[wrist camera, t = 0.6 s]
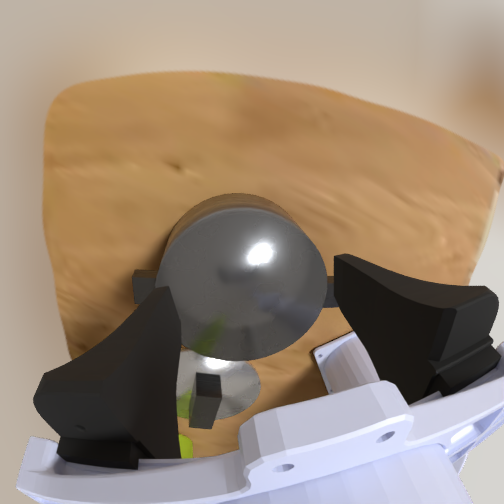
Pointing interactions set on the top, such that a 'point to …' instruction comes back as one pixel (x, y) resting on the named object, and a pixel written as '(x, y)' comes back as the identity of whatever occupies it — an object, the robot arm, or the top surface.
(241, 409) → the cooker lid
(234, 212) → the cooker pot
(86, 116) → the top surface
